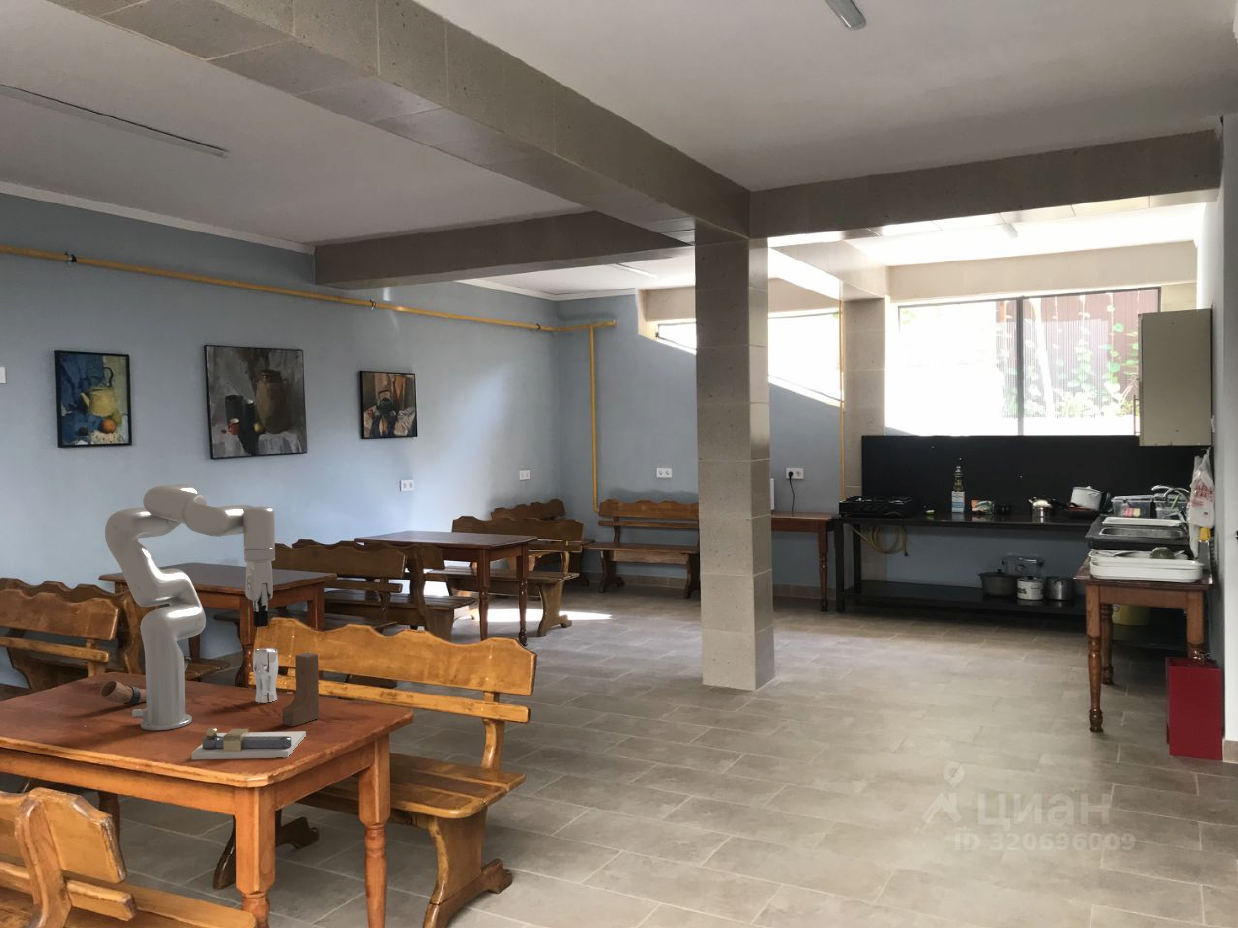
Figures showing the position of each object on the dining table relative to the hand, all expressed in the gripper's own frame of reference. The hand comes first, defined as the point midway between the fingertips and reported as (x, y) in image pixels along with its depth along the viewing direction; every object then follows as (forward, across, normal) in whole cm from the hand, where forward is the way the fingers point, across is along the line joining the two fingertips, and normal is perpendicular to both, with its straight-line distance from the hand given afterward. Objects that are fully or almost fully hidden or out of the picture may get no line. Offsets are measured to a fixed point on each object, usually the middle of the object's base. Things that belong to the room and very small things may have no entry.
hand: (260, 625), depth 255 cm
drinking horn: (+29, -56, -20) cm, 66 cm away
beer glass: (+29, -36, +9) cm, 47 cm away
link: (+27, +11, -6) cm, 30 cm away
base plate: (+29, +7, -4) cm, 30 cm away
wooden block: (+29, -9, +12) cm, 33 cm away
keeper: (+28, +8, -11) cm, 31 cm away
